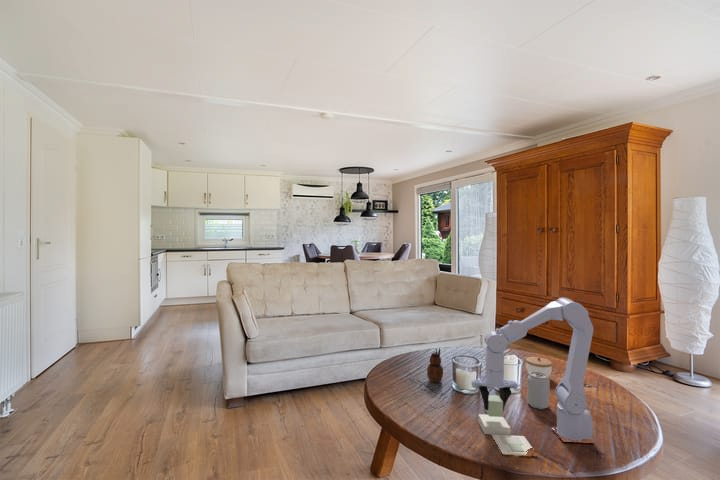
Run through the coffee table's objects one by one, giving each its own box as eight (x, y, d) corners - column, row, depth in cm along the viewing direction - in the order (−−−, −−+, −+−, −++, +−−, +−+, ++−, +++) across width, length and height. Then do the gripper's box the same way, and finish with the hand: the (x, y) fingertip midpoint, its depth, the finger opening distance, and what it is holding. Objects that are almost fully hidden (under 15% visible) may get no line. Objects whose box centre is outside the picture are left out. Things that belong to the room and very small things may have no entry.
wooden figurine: (444, 381, 158) (445, 347, 158) (440, 385, 153) (440, 350, 153) (430, 377, 162) (430, 344, 162) (425, 381, 157) (425, 347, 157)
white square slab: (501, 423, 124) (502, 415, 124) (510, 436, 116) (510, 427, 116) (478, 422, 124) (478, 414, 124) (484, 435, 116) (484, 426, 116)
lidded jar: (524, 378, 162) (524, 358, 162) (527, 371, 171) (527, 351, 171) (550, 384, 156) (551, 362, 156) (552, 376, 165) (553, 355, 165)
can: (551, 405, 137) (552, 374, 136) (545, 412, 131) (546, 379, 131) (530, 399, 142) (531, 368, 142) (524, 405, 136) (524, 374, 136)
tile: (524, 437, 114) (524, 435, 114) (537, 457, 104) (537, 454, 104) (492, 436, 115) (492, 433, 115) (502, 455, 105) (502, 452, 105)
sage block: (498, 410, 122) (498, 395, 122) (502, 416, 117) (503, 401, 117) (484, 409, 122) (485, 395, 122) (488, 416, 118) (489, 401, 118)
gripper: (512, 365, 123) (511, 404, 123) (469, 363, 124) (468, 402, 124) (520, 372, 116) (519, 414, 116) (474, 371, 117) (474, 412, 117)
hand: (493, 409), depth 120 cm, fingers closed on sage block, 4 cm apart
